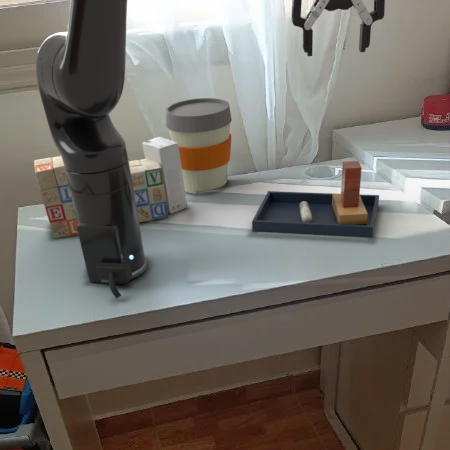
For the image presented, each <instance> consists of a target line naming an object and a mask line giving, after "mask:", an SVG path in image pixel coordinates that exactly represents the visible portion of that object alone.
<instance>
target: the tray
mask: <svg viewBox="0 0 450 450" xmlns="http://www.w3.org/2000/svg"><path fill="white" fill-rule="evenodd" d="M332 194H335V193H332V192H331V193H330V192H307V191H306V192H304V191H303V192H302V191H276V190H275V191H273V190H268V191H267V192H266V194H265V196H264V197H263V200H262V202H261V204H260V206H259V207H258V209H257V211H256V213H255V215H254V217H253V219H252V220H251V229H252V232H253V233H254V232H256V233H270V234H271V233H274V234H293V235H310V236H330V237H349V238H367V239H369V238H370V239H372V238H373V235H374V231H375V230H374V229H375V226H376V221H377V215H378V210H379V202H380V195H379V194H361V193H360V197H361V199H362V202H363V204H364V206H365V209H366V211H367V213H368V215H367V225H347V224H336V221H335V218H334V215H333V211H332ZM303 201H306V202H308V204H309V207H310V211H311V215H312V221H311V222H310V223H305V222H303V221H302V218H301V214H300V209H299V205H300V203H301V202H303Z"/></svg>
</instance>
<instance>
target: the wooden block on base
mask: <svg viewBox="0 0 450 450" xmlns="http://www.w3.org/2000/svg"><path fill="white" fill-rule="evenodd" d="M341 165H342V166H341V182H340V183H341V184H340V185H341V186H340V193H334V194H332V211H333V215H334V218H335V221H336V224H347V225H367V215H368V213H367V211H366V209H365V206H364V204H363V202H362V199H361V197H360V194H361V179H362V168H363V167H362V165H361V164H360V161H359V160H350V161H349V160H347V161H342V164H341Z"/></svg>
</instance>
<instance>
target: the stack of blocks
mask: <svg viewBox="0 0 450 450" xmlns="http://www.w3.org/2000/svg"><path fill="white" fill-rule="evenodd" d="M33 162H34V163H33V164H34V165H33V166H34V174H35V178H36V181H37V185H38V188H39V193H40V195H41V199H42V202H43V207H44V209H45V212H46V215H47V216H46V217H47V220H48V222H49V226H50V229H51V233H52V236H53V239H59V238H65V237H70V236H76V235H78V232H77V225H78V222H77V218H76V214H75V210H74V206H73V201H72V197H71V193H70V189H69V184H68V180H67V176H66V172H65V167H64V164H63V160H62V157H61V155H58V156H57V155H56V156H53V157H45V158H39V159H34V161H33ZM129 166H130V171H131V177H132V184H133V190H134V196H135V201H136V207H137V213H138V219H139V223H144V222H148V221H149V222H150V221H155V220H160V219H166V218H169V212H168V210H167V203H166V195H165V188H164V183H163V176H162V170H161V167H160V165H159V163H158V162H155V161H153V160H150V159H148V158H147V159H145V158H142V159H134V160H129Z"/></svg>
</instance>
